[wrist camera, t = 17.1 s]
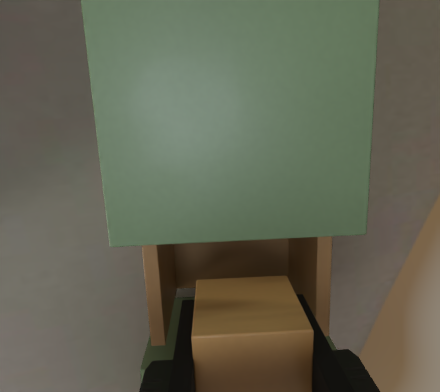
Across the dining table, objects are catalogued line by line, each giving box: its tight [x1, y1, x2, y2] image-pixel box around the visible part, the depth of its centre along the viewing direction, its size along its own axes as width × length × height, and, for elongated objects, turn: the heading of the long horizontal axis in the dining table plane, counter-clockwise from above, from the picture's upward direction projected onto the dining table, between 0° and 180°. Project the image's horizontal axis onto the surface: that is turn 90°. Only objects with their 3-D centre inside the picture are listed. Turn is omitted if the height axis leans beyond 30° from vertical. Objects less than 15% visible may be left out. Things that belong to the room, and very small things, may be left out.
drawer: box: [140, 236, 337, 382], centre depth 22 cm, size 19×11×8 cm, turn 2°
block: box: [191, 276, 314, 392], centre depth 15 cm, size 4×4×4 cm
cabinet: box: [81, 0, 379, 247], centre depth 19 cm, size 15×13×10 cm
